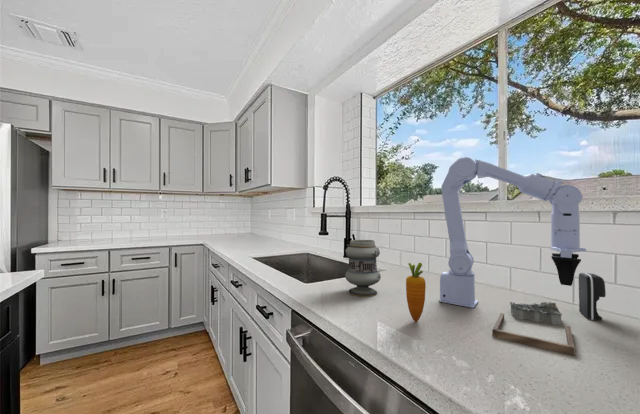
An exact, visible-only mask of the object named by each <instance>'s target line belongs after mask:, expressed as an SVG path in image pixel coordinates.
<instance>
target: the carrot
mask: <svg viewBox="0 0 640 414" xmlns="http://www.w3.org/2000/svg"><path fill="white" fill-rule="evenodd" d="M407 265H408V266H409V269H410V272H411V275H408V276H407V277H406V279H405V288H406V290H405V292H406V301H407V302H406V303H407V307H408V311H409V314H410V316H411V319H412V320H413V322H414V323H417V322H419V320H420V318H421V316H422V313H423V311H424V307H425V301H426V280H425V278H424V277H423V276H420V275H421V274H423V273H424V270H421V268H422V267H423V263H422V262H418V263H417V266H416V265H415V264H412V263H411V262H408V264H407Z"/></svg>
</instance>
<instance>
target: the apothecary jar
mask: <svg viewBox="0 0 640 414" xmlns="http://www.w3.org/2000/svg"><path fill="white" fill-rule="evenodd" d="M380 254H381V251H380V249H379V248H378V247H377V246H376V242H375V240H374V239H373V240H372V239H352V240H350V241H349V245H348V247H346V249H345V255H346V256H347V257H348V270H347V271H346V273H345V275H344V277H345V279H346V281H347V282H348V283H349V284H352V285H353V286H354V287H351V288H350V289H348V293H349V294H350V295H351V296H355V297H361V298H362V297H363V298H368V297H369V298H370V297H374V296H377V295H378V291H377V290H376V289H374V288H372V287H370V286H374V285H375V284H377V283H379V282H380V281H381V273H380V272H379V271H378V268H377V257H379V256H380Z"/></svg>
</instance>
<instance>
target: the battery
mask: <svg viewBox="0 0 640 414" xmlns="http://www.w3.org/2000/svg"><path fill="white" fill-rule="evenodd" d="M603 278H604V277H602V276H600V275H597V274H594V273H589V272H579V274H578V305H579V306H578V310H579V313H580V314H581V315H582V316H584V317H585V318H586V319H587V320H591V321H602V320H603V317H602V316H601V315H600V314H599V313H598V309H597V302H598V301H599V300H600V298H606V295H607V293H606V283H605V280H604V279H603Z"/></svg>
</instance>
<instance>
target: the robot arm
mask: <svg viewBox="0 0 640 414" xmlns="http://www.w3.org/2000/svg"><path fill="white" fill-rule="evenodd" d="M476 177H477V178H478V179H483V178H491V179H494V180H496V181H501V182H503V183H506V184H510V185H512V186H516V187H517V188H518V190H519V192H520V193H521V194H525V195H527V196H530V197H533V198H535V199H538V200H541V201H544V202H549V203H550V204H551V213H550V226H551V227H550V229H551V230H550V233H551V235H550V236H551V237H550V238H551V239H550V241H551V242H550V245H551V246H550V250H552V251H555V253H554V252H552V253H551V260H552V261H553V263H554V265H555V268H556V271H557V274H558V279H559V280H558V281H559V283H560V285H561V286H569V287H572V285H573V283H574V278H575V273H576V271H577V268H578V266H579V265H580V263H581V261H582V259H581V258H579V257H580V255H579V254H578V253H579V252H587V248H585V247H584V248H583V247H581V240H580V239H581V238H580V235H581V233H580V232H581V231H580V230H581V229H580V228H581V226H580V225H581V224H580V217H581V216H580V212H579V211H580V207H579V206H580V203H581V202H582V200H583V197H584V196H583V194H582V192H581V190H580V189H578V187H576V186H574V185H571V184H570V185H569V184H566V185H565V184H563V181H562V180H557V181H555V180H552V179H549V178H547V177H543V175H542V173H539V172H537V173H535V174H534V173H528V174H525V175H523V174H520V173H517V172H513V171H512V170H508V169H506V168H503V167H500V166H498V165H494V164H493V163H490V162H486V161H483V160H480V159H472V158H471V157H468V156H467V157H466V156H465V157H460V158H458V159H456V160H455V161H454V162H453V163H452V164H451V165H450V166H449V169H448V171H447V174H446V176H445V178H444V179H443V183H442V184H441V188H440V189H441V195H442V196H441V197H442V202H443V209H444V214H445V222H446V227H447V232H448V233H447V234H448V239H449V255H450V256H449V258H448V267H449V269H448V271H442V272H441V274H440V276H439V300H438V302H439V303H445V304H451V305H456V306H462V307H466V308H471V309H473V308H475V306H476V305H477V304H478V303H479V300H478V299H476V298H475V297H476V295H475V293H476V291H475V290H476V286H475V283H476V282H475V281H476V279H475V278H476V277H475V272H474V271H473V270H472V268H473V265H474V257H473V255H472V254H471V253H470V251H469V246H468V243H467V238H466V231H465V226H464V220H463V219H464V218H463V214H462V207H461V201H460V197H459V191H461V189H462V188H463V187H464V186H465V185H466V184H468V183H469V182H471V181H473V180H474V179H475V178H476ZM562 184H563V185H562ZM556 252H558V253H556Z"/></svg>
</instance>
